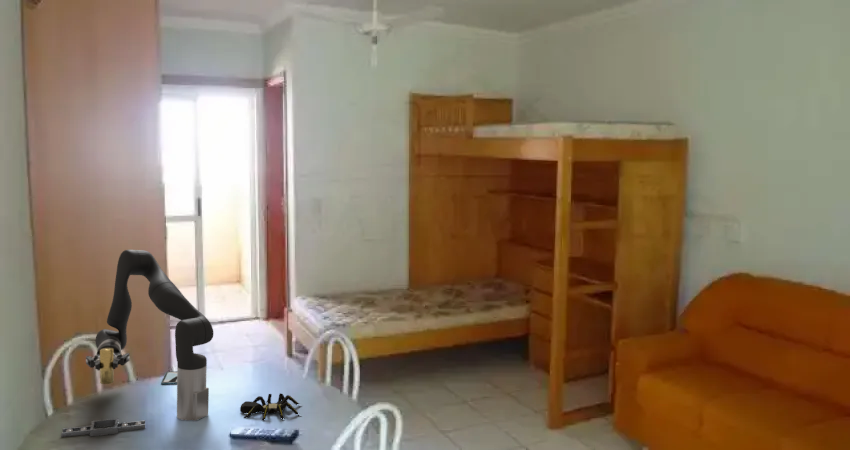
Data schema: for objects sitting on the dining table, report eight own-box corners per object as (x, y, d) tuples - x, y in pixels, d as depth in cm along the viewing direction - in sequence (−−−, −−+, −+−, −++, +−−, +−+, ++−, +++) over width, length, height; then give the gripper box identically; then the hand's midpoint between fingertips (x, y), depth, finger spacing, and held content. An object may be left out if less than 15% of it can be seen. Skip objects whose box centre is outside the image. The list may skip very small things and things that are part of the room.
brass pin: (116, 381, 221) (116, 348, 220) (106, 384, 217) (106, 351, 216) (107, 379, 223) (107, 347, 222) (97, 382, 219) (97, 350, 218)
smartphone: (185, 371, 268) (181, 382, 254) (185, 373, 268) (181, 385, 254) (166, 371, 266) (160, 383, 252) (166, 373, 267) (160, 385, 252)
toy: (301, 422, 224) (302, 407, 224) (237, 422, 221) (237, 408, 221) (303, 403, 242) (304, 389, 241) (243, 403, 239) (244, 389, 238)
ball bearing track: (145, 421, 218) (145, 415, 217) (145, 430, 211) (145, 424, 210) (63, 429, 208) (63, 423, 208) (60, 439, 201) (60, 433, 201)
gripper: (86, 343, 229) (81, 357, 214) (131, 340, 235) (130, 353, 219) (86, 364, 230) (82, 380, 214) (131, 361, 236) (130, 376, 220)
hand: (106, 366), depth 217 cm, fingers closed on brass pin, 4 cm apart
